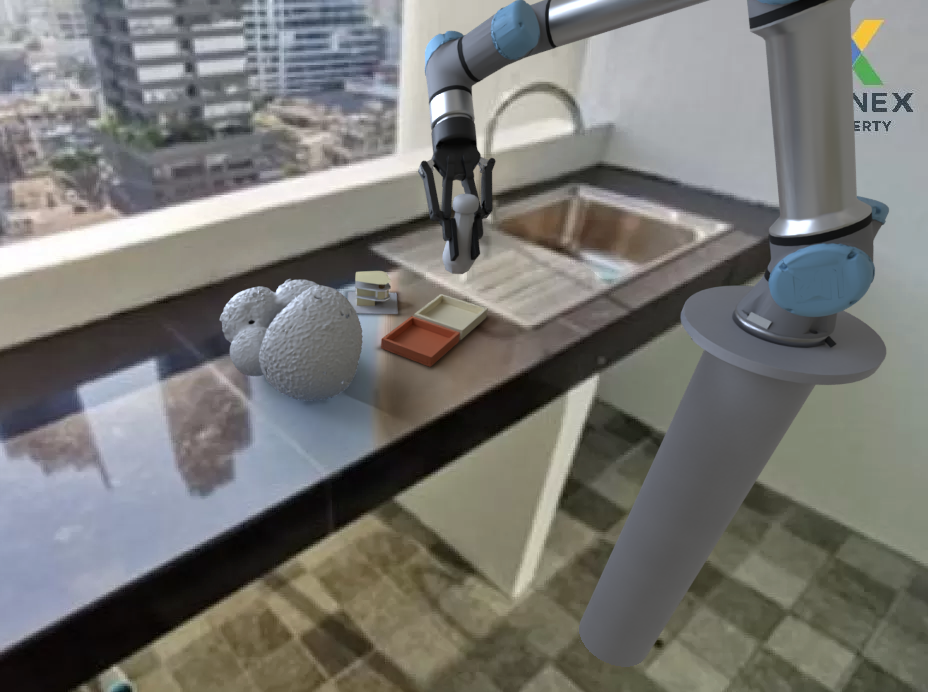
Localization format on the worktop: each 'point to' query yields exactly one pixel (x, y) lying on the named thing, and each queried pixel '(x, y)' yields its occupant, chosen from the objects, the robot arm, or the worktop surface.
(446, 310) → the ivory tray
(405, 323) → the terracotta tray
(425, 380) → the worktop surface
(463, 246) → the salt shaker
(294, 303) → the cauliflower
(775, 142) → the robot arm
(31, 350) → the worktop surface
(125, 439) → the worktop surface
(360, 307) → the stacked layers on plate
